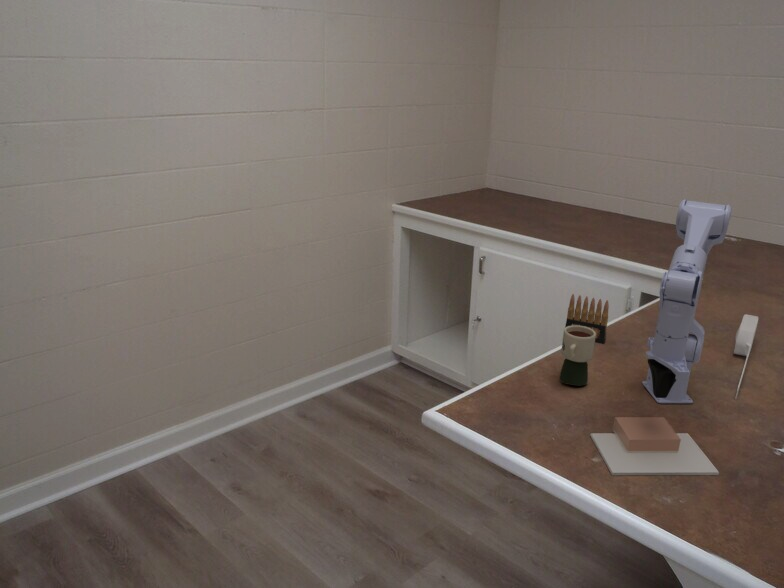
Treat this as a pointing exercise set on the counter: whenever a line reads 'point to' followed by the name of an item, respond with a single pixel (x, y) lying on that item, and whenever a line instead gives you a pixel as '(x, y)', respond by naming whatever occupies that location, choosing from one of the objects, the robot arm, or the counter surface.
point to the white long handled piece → (745, 339)
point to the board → (653, 458)
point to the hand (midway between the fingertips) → (659, 396)
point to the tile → (646, 435)
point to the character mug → (577, 354)
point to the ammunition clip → (589, 317)
